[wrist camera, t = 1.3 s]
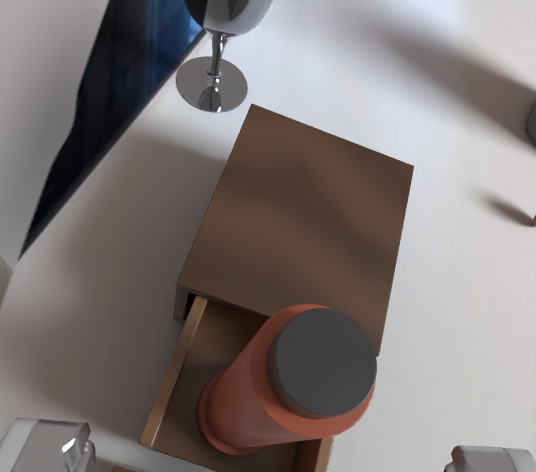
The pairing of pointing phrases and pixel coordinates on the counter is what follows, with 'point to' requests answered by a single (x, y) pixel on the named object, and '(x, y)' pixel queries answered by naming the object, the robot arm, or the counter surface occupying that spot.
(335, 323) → the pepper mill
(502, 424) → the counter surface
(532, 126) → the liquor
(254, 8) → the wine glass
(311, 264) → the cabinet
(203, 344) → the drawer
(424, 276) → the counter surface
